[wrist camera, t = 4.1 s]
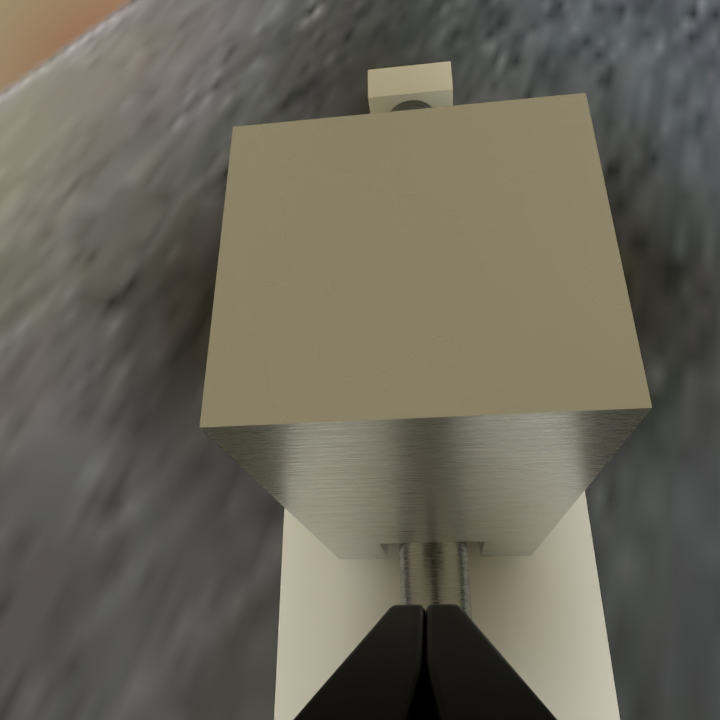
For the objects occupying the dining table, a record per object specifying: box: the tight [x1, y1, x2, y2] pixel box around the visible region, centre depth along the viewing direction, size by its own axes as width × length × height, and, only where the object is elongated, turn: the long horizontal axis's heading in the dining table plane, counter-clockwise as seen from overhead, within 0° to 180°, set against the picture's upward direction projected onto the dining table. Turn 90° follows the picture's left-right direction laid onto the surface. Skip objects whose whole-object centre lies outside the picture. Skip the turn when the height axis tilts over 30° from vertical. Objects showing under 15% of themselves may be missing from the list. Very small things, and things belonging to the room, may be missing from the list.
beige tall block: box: [200, 93, 652, 560], centre depth 14 cm, size 5×5×12 cm
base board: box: [274, 61, 620, 720], centre depth 19 cm, size 26×9×3 cm, turn 0°
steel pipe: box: [390, 100, 472, 620], centre depth 19 cm, size 23×2×2 cm, turn 0°
